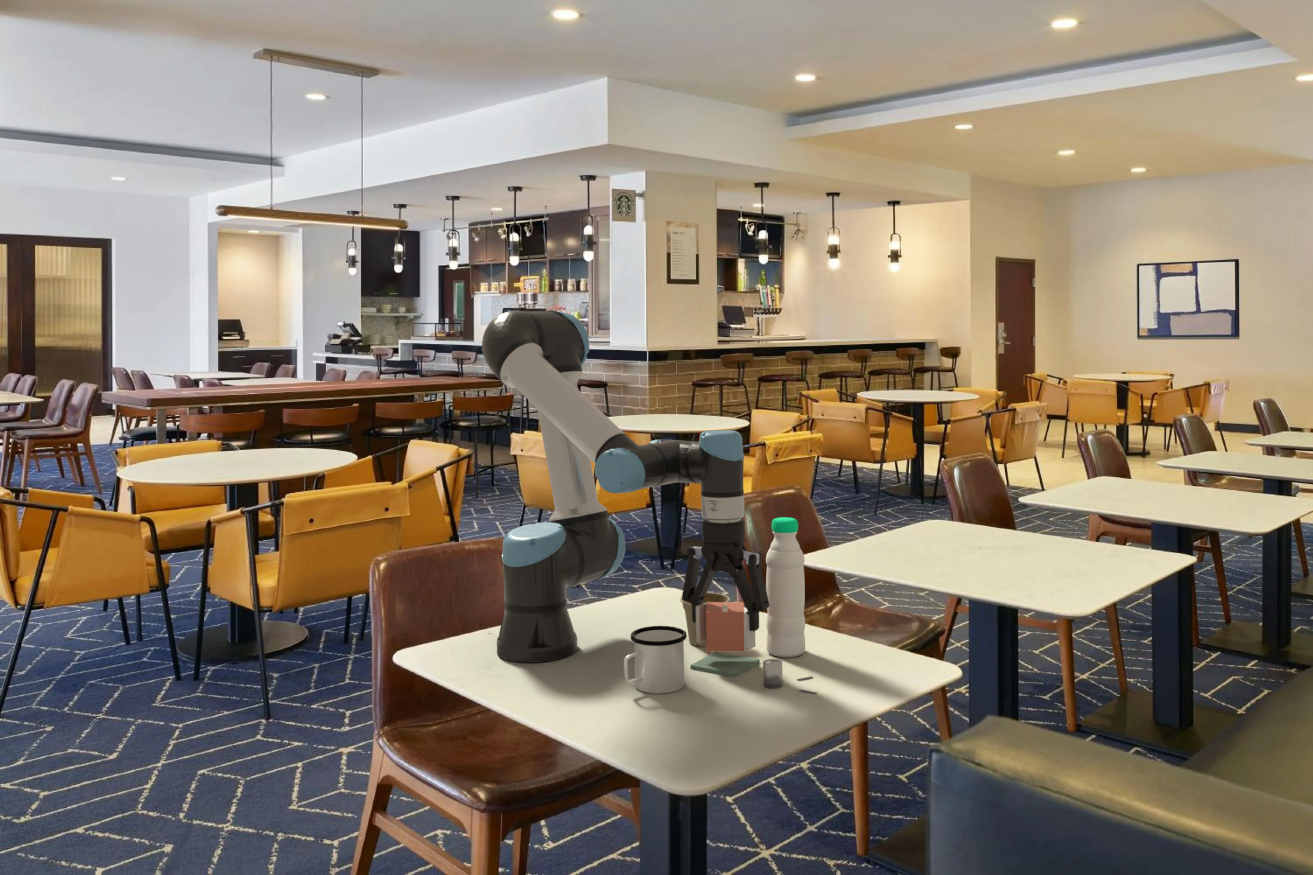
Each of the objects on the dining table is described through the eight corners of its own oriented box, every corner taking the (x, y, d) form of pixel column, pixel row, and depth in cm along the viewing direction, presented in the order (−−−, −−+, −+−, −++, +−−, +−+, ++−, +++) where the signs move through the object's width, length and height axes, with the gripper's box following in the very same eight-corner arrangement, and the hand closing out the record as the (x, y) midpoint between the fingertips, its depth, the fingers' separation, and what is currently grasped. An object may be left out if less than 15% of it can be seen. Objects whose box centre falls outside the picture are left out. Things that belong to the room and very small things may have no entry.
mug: (663, 672, 180) (662, 622, 179) (699, 686, 172) (698, 633, 171) (608, 688, 172) (606, 636, 171) (643, 703, 165) (642, 648, 164)
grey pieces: (759, 686, 172) (759, 663, 171) (783, 671, 179) (783, 649, 178) (812, 696, 166) (812, 672, 166) (834, 680, 173) (834, 657, 173)
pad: (690, 668, 181) (690, 665, 181) (716, 654, 189) (716, 651, 189) (735, 676, 176) (735, 673, 176) (759, 662, 184) (759, 659, 184)
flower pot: (740, 643, 195) (739, 599, 194) (700, 653, 190) (699, 607, 189) (710, 632, 203) (709, 589, 202) (671, 641, 198) (670, 597, 197)
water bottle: (804, 659, 185) (803, 522, 183) (764, 657, 187) (763, 521, 184) (806, 647, 192) (805, 515, 190) (768, 645, 193) (767, 514, 191)
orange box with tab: (707, 639, 186) (706, 598, 185) (743, 639, 185) (743, 598, 185) (706, 651, 179) (705, 608, 178) (744, 651, 179) (744, 608, 178)
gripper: (659, 517, 183) (662, 640, 185) (768, 527, 171) (770, 659, 173) (681, 511, 189) (684, 630, 191) (788, 520, 177) (790, 647, 179)
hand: (725, 644), depth 182 cm, fingers closed on orange box with tab, 9 cm apart
